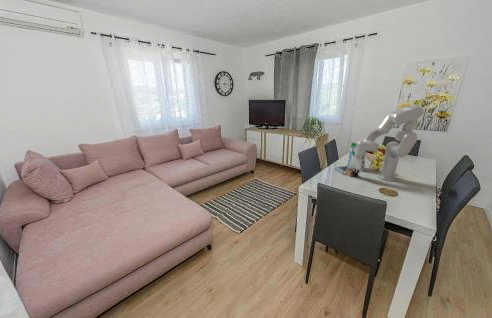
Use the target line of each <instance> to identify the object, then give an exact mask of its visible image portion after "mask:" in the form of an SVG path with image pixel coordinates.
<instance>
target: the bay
mask: <svg viewBox="0 0 492 318" xmlns="http://www.w3.org/2000/svg"><path fill="white" fill-rule="evenodd" d="M348 168H351V167H349V166H348V165H343V166H342V165H341V166H335V169H334V171H335V172H337V173H339V174H340V175H344V174H345V171H346V169H348Z"/></svg>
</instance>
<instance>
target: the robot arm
mask: <svg viewBox="0 0 492 318" xmlns="http://www.w3.org/2000/svg"><path fill="white" fill-rule="evenodd" d="M424 113H425V110H424V108H423V107H421V106H417V105H404V106H402V107H401V109H400V111H390V112H387V114H386V116H384V117H383V119H382V121H381V122H380V124H379V126H378V127H377V128H375V129H374V130H372V131H371V132H370V133H368V135H367V136H366V137H365V138H364V140H358V141H357V142H356V143H357V144H356V150H355V155H354V157H353V160H352V163H351V168H353V171H354V175H353V176H352V177H354V178H356V177H357V178H358V176H359V173H362V172H363V171H364V170H365V169H366V168H365V166H366V154H367V153H366V152H376V151H378V150H379V149H380V145H379V144H378V142H375V141H376V139H378V138H379V137H381V136H384V135H386V134H389V133H390V132H391V130H392V129H393V127H395V125H400V126H399V128H398V130H397V131H396V133H395V134H394V139H395V140H396V141H390V142H388V143H386V146H385V148H384V149H385V150H384V151H385V154H384V159H383V162H382V167H381V170H380V174H378V175H377V178H378V179H380V180H381V181H382V180H383V181H385V182H395V181H396V180H397V178H396V177H398V176H399V173H396V172H397V168H398V164H399V160H400V159H399V158H403V157H406V156H408V154H409V153H410V152H411V150H412V149H413V147H414V146H415V144H416V142H417V141H418V134H417V132H415V131H414V129H415V127H416V126H417V120H418V119H419V118H421V117H422V116H423V115H424Z"/></svg>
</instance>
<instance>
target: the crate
mask: <svg viewBox="0 0 492 318" xmlns="http://www.w3.org/2000/svg"><path fill="white" fill-rule="evenodd" d="M344 174H345V176H349V177H354V176H353V175H354V171H353V168H348V169H346V170H345V171H344Z"/></svg>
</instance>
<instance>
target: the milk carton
mask: <svg viewBox="0 0 492 318" xmlns="http://www.w3.org/2000/svg"><path fill="white" fill-rule="evenodd" d="M356 144H357V142H351V146H350V151H349V155H348V160H347V166H349V167H351V163H352V160H353V157H354V155H355V150H356Z"/></svg>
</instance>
